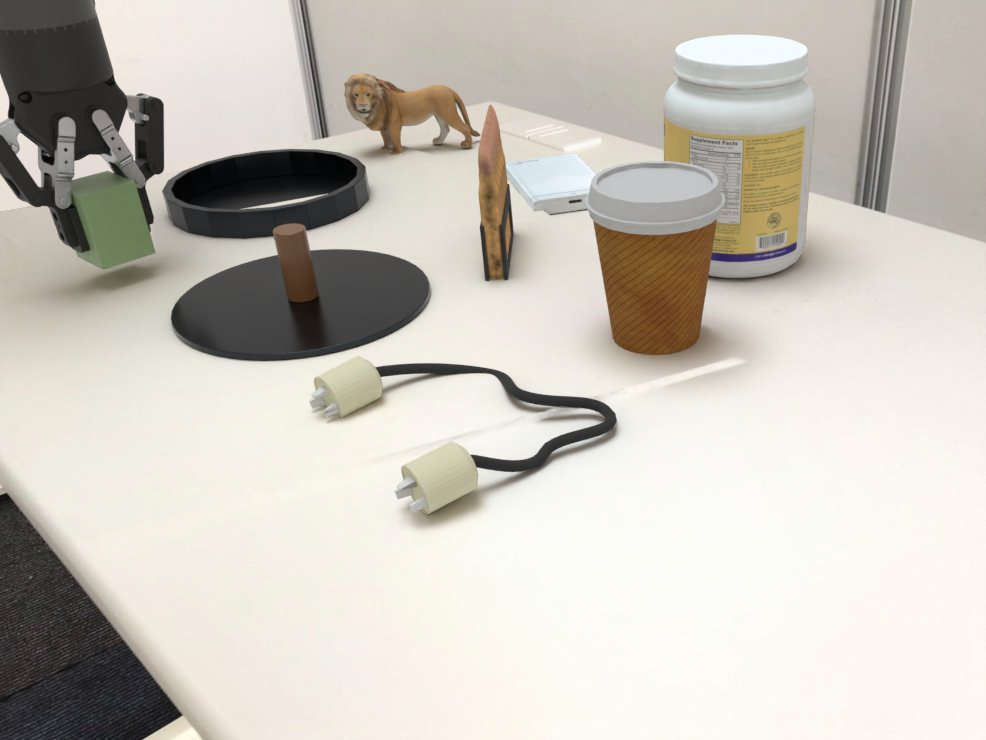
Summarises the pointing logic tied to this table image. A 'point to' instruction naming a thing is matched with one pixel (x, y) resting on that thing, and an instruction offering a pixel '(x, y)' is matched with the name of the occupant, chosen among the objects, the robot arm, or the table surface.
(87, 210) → the block
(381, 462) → the table surface
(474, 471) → the cable
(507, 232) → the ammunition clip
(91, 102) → the robot arm
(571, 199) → the hard drive
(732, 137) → the supplement tub
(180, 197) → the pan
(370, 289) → the lid
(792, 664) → the table surface
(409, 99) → the lion figurine
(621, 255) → the disposable coffee cup
